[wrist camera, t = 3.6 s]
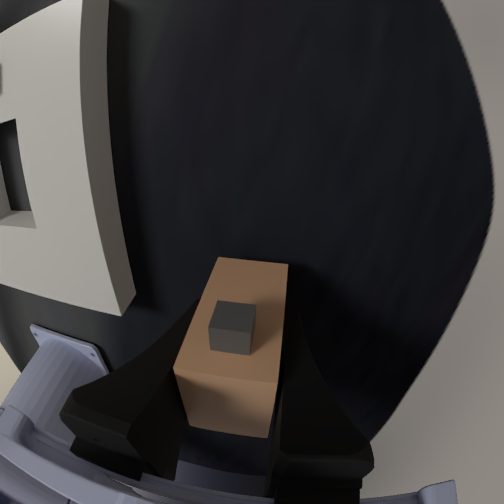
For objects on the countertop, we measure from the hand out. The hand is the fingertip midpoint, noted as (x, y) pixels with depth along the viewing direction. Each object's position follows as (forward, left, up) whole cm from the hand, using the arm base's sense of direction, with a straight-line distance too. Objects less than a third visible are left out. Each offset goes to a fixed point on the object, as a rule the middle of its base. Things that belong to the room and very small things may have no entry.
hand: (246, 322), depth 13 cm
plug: (0, 0, -2) cm, 2 cm away
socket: (+6, +14, -3) cm, 15 cm away
